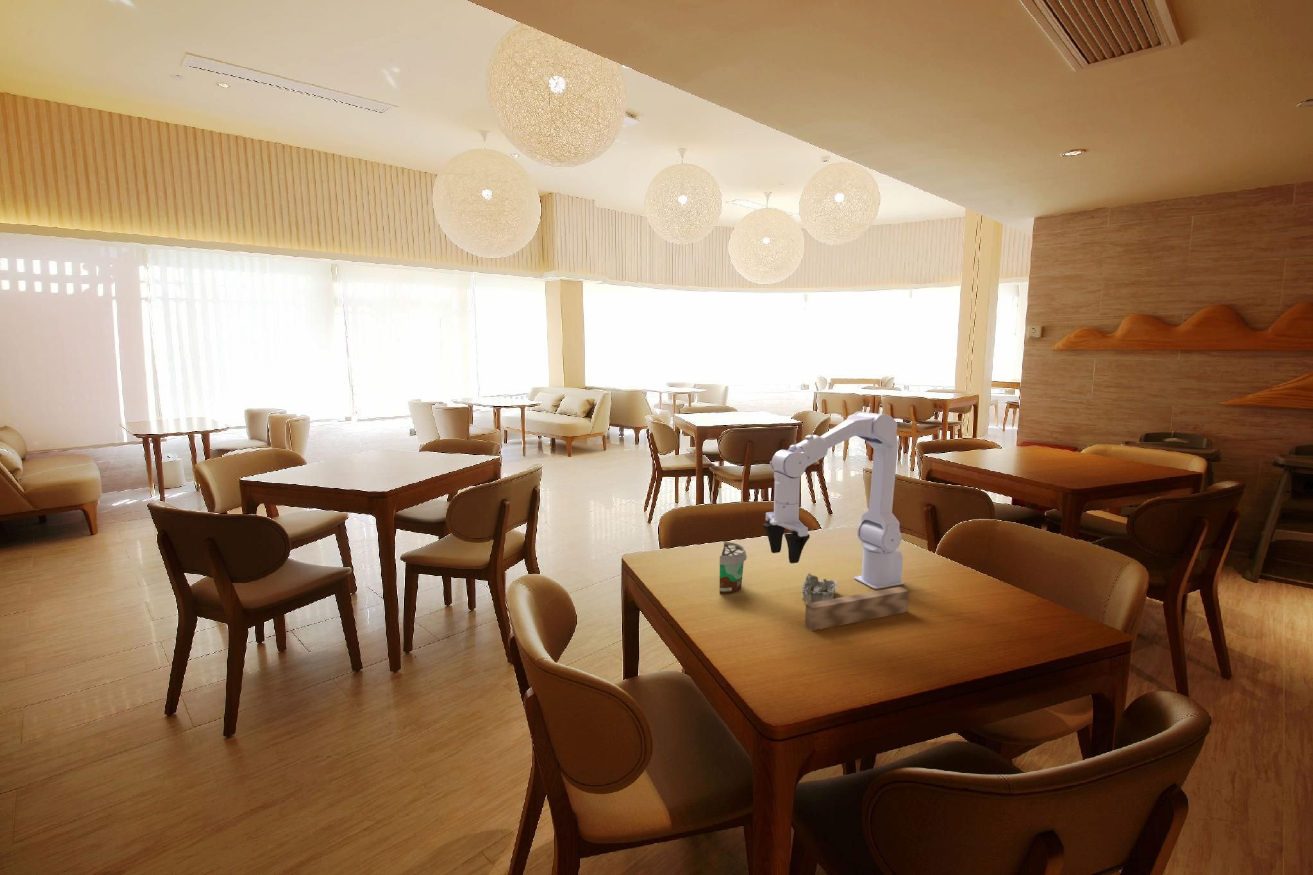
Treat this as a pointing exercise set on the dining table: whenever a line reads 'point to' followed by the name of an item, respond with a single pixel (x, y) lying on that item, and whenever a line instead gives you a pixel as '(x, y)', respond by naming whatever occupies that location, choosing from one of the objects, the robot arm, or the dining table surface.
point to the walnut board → (856, 608)
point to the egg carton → (818, 589)
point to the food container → (731, 568)
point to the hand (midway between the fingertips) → (784, 557)
